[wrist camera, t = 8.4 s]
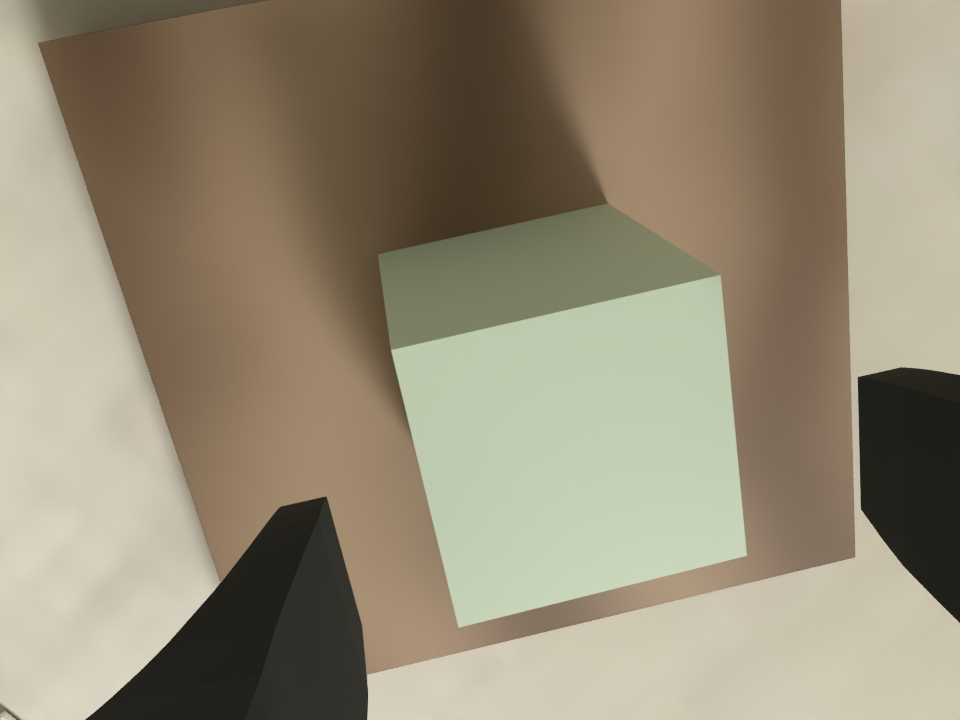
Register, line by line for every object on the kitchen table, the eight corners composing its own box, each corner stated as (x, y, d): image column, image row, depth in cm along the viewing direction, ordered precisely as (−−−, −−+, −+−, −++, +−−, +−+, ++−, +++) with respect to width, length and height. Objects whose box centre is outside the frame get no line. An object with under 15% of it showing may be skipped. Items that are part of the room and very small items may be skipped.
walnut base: (786, -91, 17) (838, -106, 16) (812, 514, 23) (855, 557, 21) (73, 42, 17) (38, 43, 15) (268, 643, 22) (260, 699, 20)
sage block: (607, 203, 17) (720, 274, 12) (636, 413, 19) (746, 556, 13) (378, 254, 17) (391, 350, 12) (427, 462, 18) (458, 627, 13)
